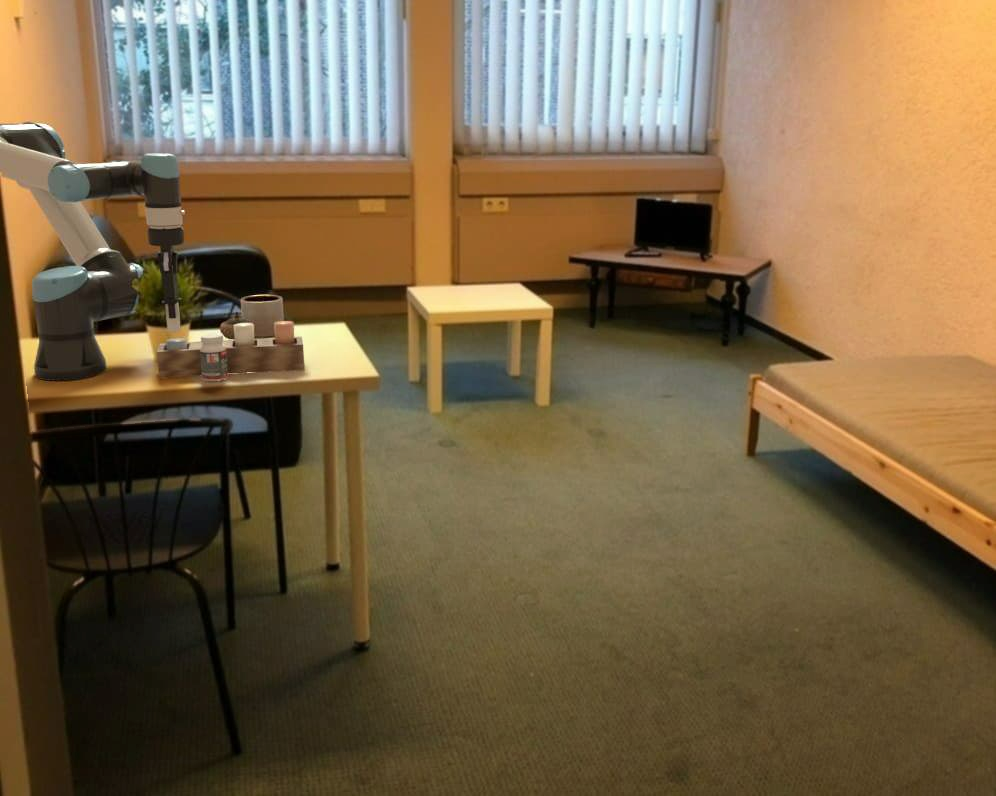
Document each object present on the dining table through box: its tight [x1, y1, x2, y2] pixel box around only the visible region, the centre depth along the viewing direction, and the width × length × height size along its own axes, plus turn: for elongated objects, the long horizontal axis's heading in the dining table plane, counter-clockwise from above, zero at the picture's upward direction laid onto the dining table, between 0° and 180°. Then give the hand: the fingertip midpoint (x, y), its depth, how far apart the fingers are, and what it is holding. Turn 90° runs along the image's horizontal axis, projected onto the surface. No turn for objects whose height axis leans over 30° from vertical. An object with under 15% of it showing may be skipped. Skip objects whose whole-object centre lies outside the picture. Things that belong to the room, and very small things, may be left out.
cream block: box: [234, 323, 256, 347], centre depth 231 cm, size 4×4×6 cm
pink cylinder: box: [274, 320, 295, 345], centre depth 233 cm, size 4×4×6 cm
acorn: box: [219, 311, 255, 340], centre depth 248 cm, size 8×8×10 cm
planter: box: [240, 294, 285, 339], centre depth 266 cm, size 11×11×10 cm
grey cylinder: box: [165, 337, 187, 350], centre depth 229 cm, size 4×4×6 cm
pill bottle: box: [200, 332, 229, 382], centre depth 223 cm, size 6×6×10 cm
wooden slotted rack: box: [156, 336, 305, 378], centre depth 232 cm, size 32×8×6 cm, turn 103°
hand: (174, 331), depth 227 cm, fingers closed
